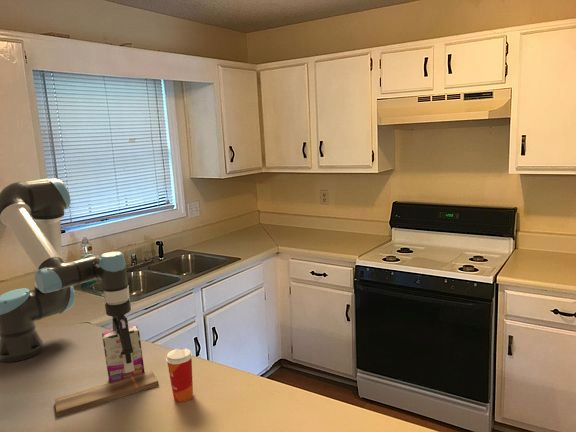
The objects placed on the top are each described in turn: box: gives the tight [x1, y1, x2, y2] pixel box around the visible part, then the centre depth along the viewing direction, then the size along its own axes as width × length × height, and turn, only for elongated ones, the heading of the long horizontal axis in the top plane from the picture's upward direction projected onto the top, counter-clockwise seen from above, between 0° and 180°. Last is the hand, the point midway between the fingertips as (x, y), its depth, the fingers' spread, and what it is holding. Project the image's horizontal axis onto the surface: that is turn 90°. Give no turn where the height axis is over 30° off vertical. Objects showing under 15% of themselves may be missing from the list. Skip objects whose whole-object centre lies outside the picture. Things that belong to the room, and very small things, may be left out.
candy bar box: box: [101, 324, 146, 383], centre depth 152 cm, size 11×5×16 cm, turn 116°
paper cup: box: [165, 347, 194, 403], centre depth 139 cm, size 8×8×14 cm
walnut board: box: [54, 370, 160, 418], centre depth 144 cm, size 8×29×2 cm, turn 120°
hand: (125, 362), depth 153 cm, fingers open, 13 cm apart
